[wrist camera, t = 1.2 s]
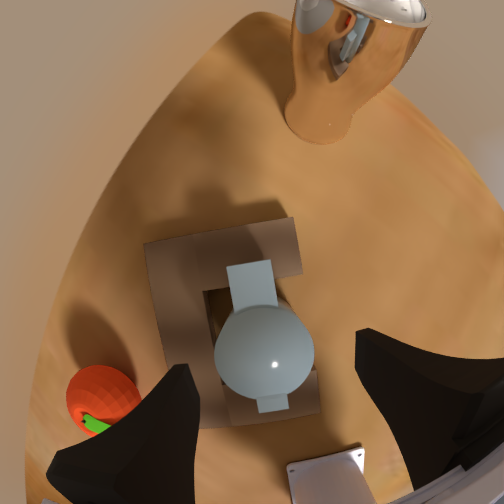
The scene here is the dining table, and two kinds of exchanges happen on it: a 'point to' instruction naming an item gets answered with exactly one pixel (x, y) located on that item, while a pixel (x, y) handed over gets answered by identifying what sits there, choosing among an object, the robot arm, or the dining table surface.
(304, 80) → the beer glass
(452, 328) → the dining table surface
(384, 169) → the dining table surface
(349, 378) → the dining table surface
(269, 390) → the grey tabbed rounded part
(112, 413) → the clementine
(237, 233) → the dock
